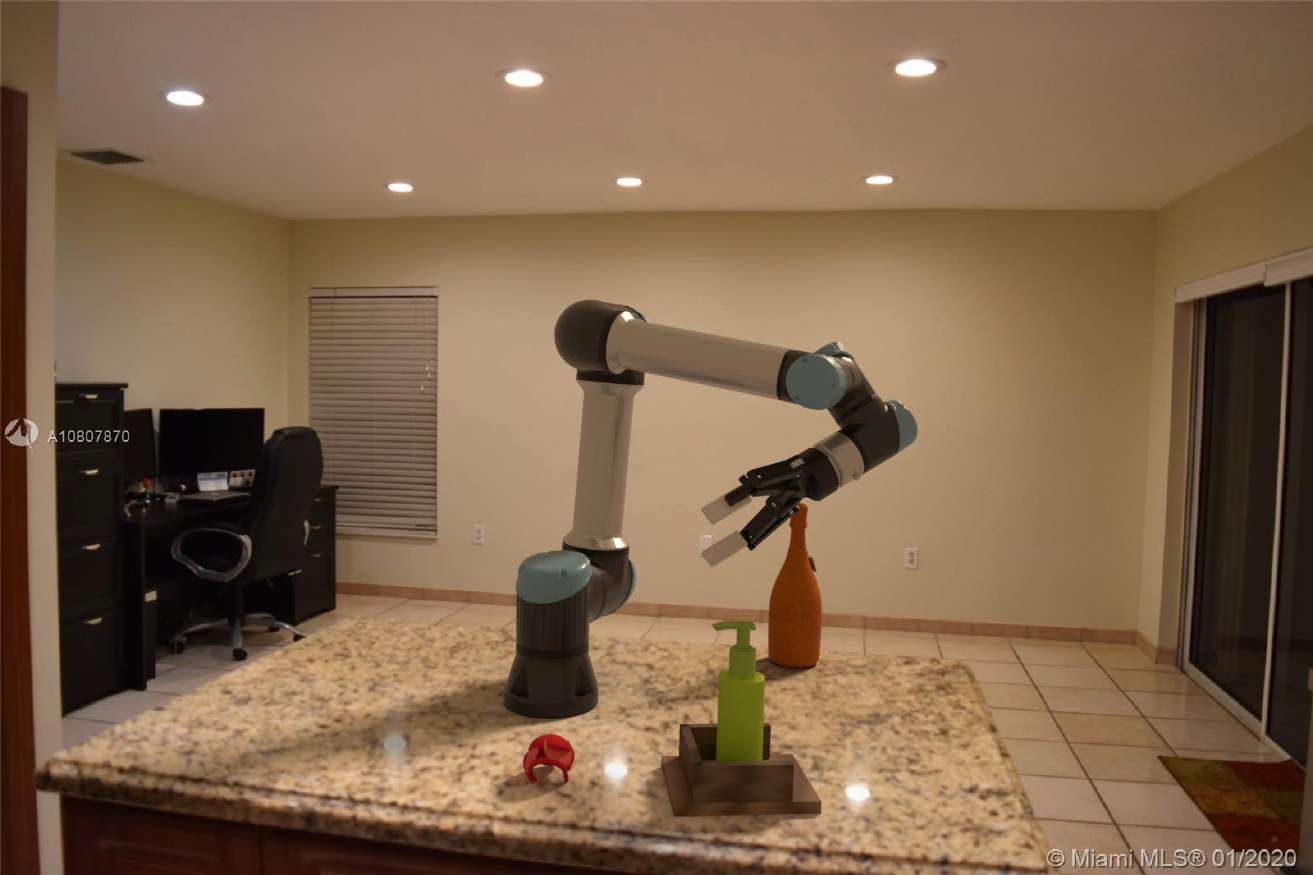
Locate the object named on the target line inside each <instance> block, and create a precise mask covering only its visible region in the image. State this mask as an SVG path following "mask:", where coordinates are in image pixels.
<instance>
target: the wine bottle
mask: <svg viewBox="0 0 1313 875" xmlns="http://www.w3.org/2000/svg"><path fill="white" fill-rule="evenodd" d="M797 506H798V507H799V508H800V511H799V512H798V513H797V514H795V515H794V516H792V517H791V518H790V520H789V523H788V524H789V528H790V529H791V530H790V539H789V545H788V548H787V552H786V558H785V560H784V562H783V563H782V565H781V568H780V570H779V572H778V575H777V576H776V579H775V581H774V583H773V586H772V589H771V593H770V597H769V604H768V606H769V607H768V623H767V624H768V628H767V629H768V631H767V633H768V634H767V636H768V638H767V639H768V640H767V643H768V645H767V650H768V657H769V660H770V661H771V662H772V663H774V664H777V665H779V666H782V667H787V668H794V669H795V668H796V669H797V668H798V669H799V668H800V669H802V668H809V667H812V666H814V665H817V663H818V662H819V659H820V654H821V653H820V652H821V642H822V641H821V640H822V639H821V638H822V625H823V624H822V622H823V621H822V620H823V603H822V602H823V601H822V594H821V590H820V587H819V584H818V581H817V578H816V575H815V573H817V572H818V571H817V568H816V563H815V561H814V560H815V559H814V557H812V556H810V555H809V552H808V549H807V541H806V529H807V527H808V512H809V507H808V505H807V504H806V503H804V502H803V503H802V502H800V503H799V504H798V505H797ZM814 572H815V573H814Z"/></svg>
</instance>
